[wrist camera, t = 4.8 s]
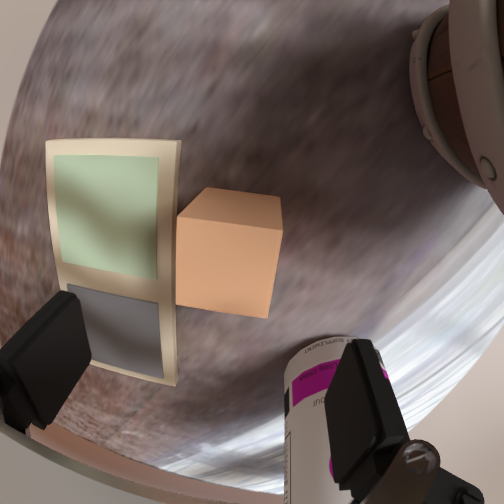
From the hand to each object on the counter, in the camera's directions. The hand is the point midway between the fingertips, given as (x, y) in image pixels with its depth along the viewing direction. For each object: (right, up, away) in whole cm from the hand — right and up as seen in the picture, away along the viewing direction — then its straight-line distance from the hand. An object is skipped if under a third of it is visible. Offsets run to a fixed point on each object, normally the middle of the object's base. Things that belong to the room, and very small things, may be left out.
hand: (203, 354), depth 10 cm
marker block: (+1, +5, +9) cm, 11 cm away
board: (-9, +2, +11) cm, 15 cm away
